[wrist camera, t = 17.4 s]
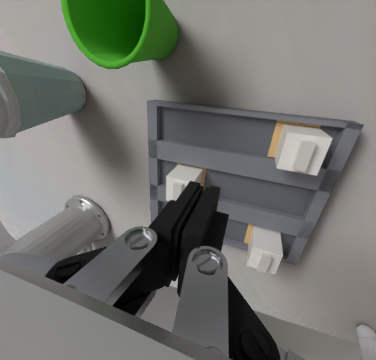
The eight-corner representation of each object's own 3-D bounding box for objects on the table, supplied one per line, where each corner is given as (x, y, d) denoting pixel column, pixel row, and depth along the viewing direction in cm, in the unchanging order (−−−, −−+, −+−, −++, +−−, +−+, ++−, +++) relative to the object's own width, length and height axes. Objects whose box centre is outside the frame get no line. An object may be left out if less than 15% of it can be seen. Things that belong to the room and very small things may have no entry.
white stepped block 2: (273, 250, 32) (275, 279, 27) (248, 243, 33) (246, 269, 28) (280, 232, 30) (283, 259, 25) (253, 225, 31) (252, 250, 26)
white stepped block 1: (200, 191, 31) (189, 209, 27) (177, 185, 32) (163, 203, 28) (202, 168, 30) (191, 185, 25) (178, 164, 31) (163, 178, 26)
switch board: (293, 253, 33) (295, 264, 31) (156, 214, 39) (151, 221, 37) (354, 121, 22) (363, 125, 20) (155, 99, 29) (147, 100, 27)
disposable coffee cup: (42, 52, 32) (-100, 32, 20) (94, 57, 30) (-32, 37, 17) (56, 117, 37) (-49, 134, 25) (102, 126, 35) (10, 150, 22)
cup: (208, 20, 23) (171, -24, 14) (170, 88, 28) (124, 89, 18) (150, -30, 23) (72, -109, 13) (122, 47, 28) (51, 28, 18)
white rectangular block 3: (307, 160, 24) (318, 178, 19) (274, 155, 25) (277, 171, 20) (319, 128, 22) (335, 140, 18) (283, 124, 23) (288, 134, 19)
